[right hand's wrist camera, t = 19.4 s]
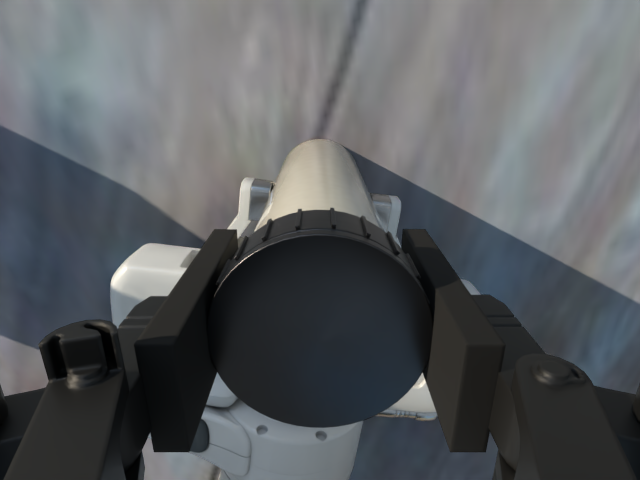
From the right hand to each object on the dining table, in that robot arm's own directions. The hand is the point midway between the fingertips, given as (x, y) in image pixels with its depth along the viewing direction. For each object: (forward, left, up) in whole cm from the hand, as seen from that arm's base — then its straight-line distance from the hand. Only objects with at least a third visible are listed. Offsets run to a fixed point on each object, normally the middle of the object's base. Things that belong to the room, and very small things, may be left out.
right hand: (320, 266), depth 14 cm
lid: (0, 0, +4) cm, 4 cm away
